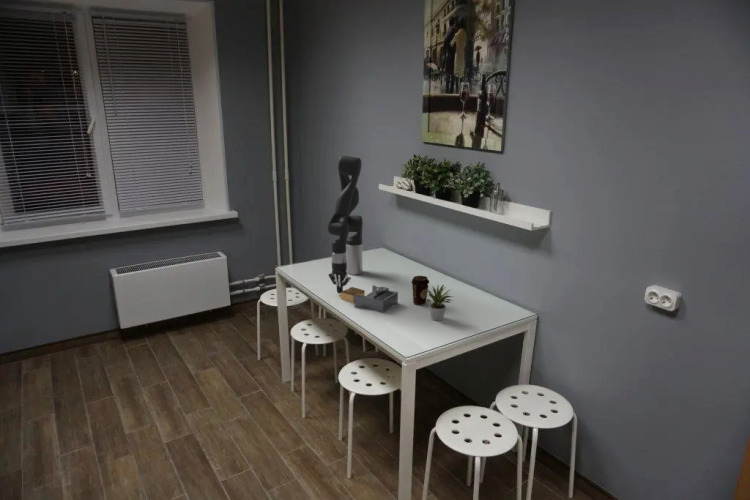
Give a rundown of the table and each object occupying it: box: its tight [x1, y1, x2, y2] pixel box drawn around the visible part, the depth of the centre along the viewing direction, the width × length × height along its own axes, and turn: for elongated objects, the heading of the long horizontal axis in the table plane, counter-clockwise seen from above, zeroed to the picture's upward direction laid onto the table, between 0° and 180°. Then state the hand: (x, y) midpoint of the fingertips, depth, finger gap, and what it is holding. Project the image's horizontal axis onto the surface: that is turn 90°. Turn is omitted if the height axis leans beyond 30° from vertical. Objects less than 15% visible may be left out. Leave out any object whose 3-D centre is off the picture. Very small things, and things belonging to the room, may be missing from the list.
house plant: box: [424, 283, 453, 322], centre depth 222 cm, size 14×14×16 cm
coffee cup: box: [411, 275, 430, 306], centre depth 241 cm, size 9×8×13 cm
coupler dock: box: [353, 284, 399, 313], centre depth 240 cm, size 16×17×9 cm
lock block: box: [340, 286, 366, 304], centre depth 248 cm, size 8×9×4 cm
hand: (339, 292), depth 252 cm, fingers closed
